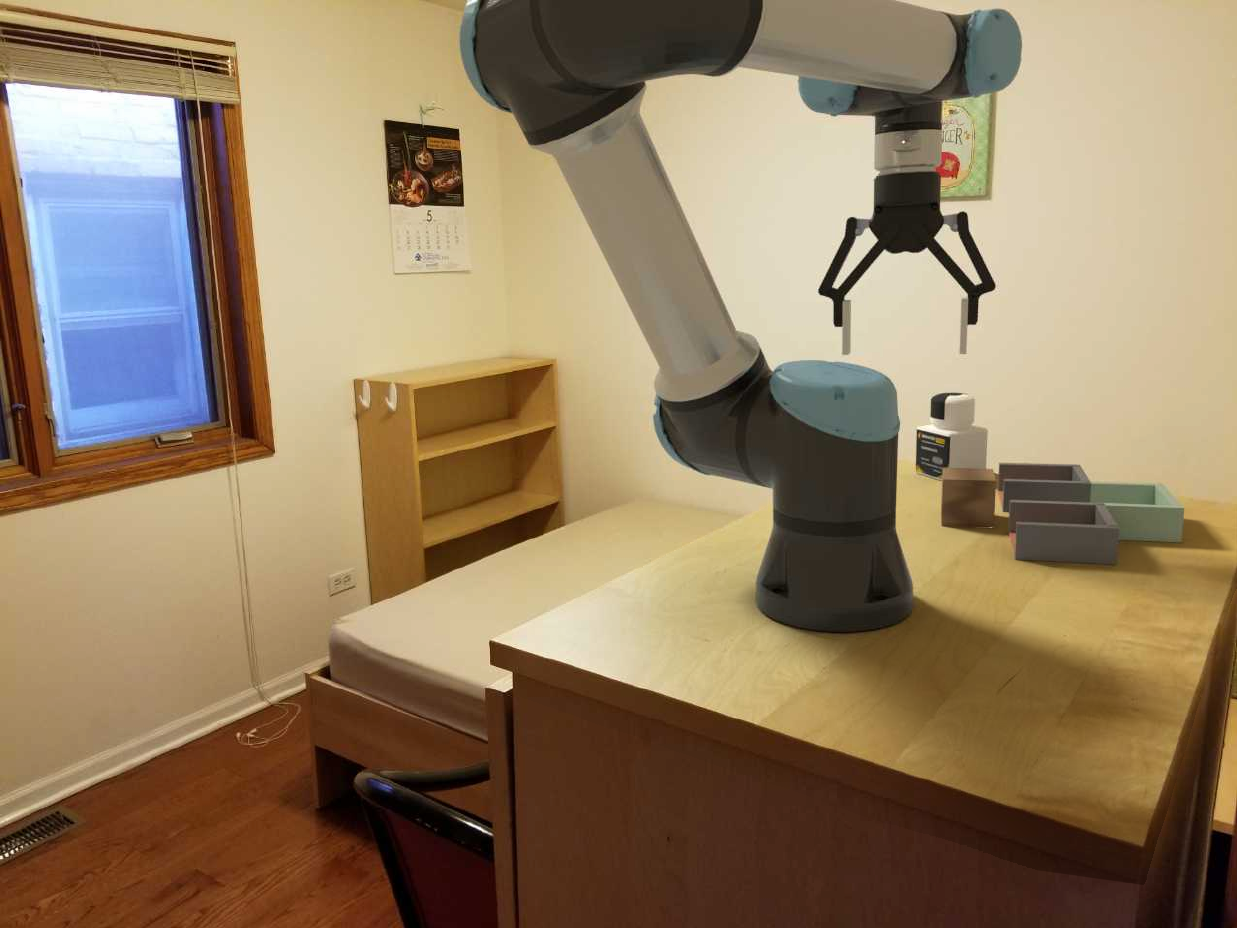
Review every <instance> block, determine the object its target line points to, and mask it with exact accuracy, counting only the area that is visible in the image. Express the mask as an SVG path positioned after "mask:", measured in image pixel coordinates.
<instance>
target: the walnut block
mask: <svg viewBox="0 0 1237 928" xmlns="http://www.w3.org/2000/svg"><path fill="white" fill-rule="evenodd" d="M996 487H997V479H996V475H995V472H994V469H993V468H986V469H975V468H942V481H941V499H940V500H941V504H940V505H941V507H940V517H941V518H940V522H941V524H940V525H941V527H951V528H952V527H953V528H973V527H987V528H986V529H989V528H988V527H994V528H995V514H996V513H995V512H996V494H997V493H996V489H997V488H996Z"/></svg>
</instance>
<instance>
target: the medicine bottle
mask: <svg viewBox="0 0 1237 928" xmlns="http://www.w3.org/2000/svg"><path fill="white" fill-rule="evenodd" d="M975 404H976V399H975V397H974V396H972V395H970V394H968V393H963V392H942V393H937V394H935V395H933V396H932V397H931V399H930V411H929V412H930V416H929V420H930V421H929V422H930V423H931V424H926V425H919V426H917V427H916V440H915V441H916V444H915V473H916V474H918V475H921V476H925V477H927V478H931V479H935V480H936V481H937V480H938V481H941V482H942V468H975V469H987V457H988V454H987V453H988V433H989V432H988V431H989V430H988V428H986V427H981V426H975V425H972V424H974V423H975V408H976V407H975V406H976V405H975Z"/></svg>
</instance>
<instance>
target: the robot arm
mask: <svg viewBox="0 0 1237 928" xmlns="http://www.w3.org/2000/svg"><path fill="white" fill-rule="evenodd" d="M458 36H459V37H458V38H459V51H460V58H461V62H462V65H463V68H464V71H465V73H466V76H467V79H468V80H469V82H470V84H471V85H472V87H473V89H474V90H475V91H476V93H477V94H478V95H479V96H480V97H481V98H482V99H483V100H484V101H485V102H486V103H487V104H489V105H490V106H492V107H494V108H495V107H496V109H498V110H500V111H502V112H505V113H508V114H512V115H513V117H514V118H515V120H516V122H517V124H518V127H519V128H520V130H521V132H522V135H523V136H524V138H525V140H526V141H527V142H526V143H527V144H528V145H529V147H530V148H531V149H532V150H533V149H534V150H536V151H539V152H542V153H545V154H548V155H551V156H552V157H553V158H554V159H555V162H556V164H557V166H558V168H559V170H560V172H561V174H562V175H563V178H564V180H565V182H566V183H567V185H568V188H569V189H570V192H571V194H572V196H573V197H574V200H575V201H576V203H577V205H578V208H579V209H580V211H581V213H582V215H583V217H584V219H585V222H586V223H587V225H588V228H589V229H590V232H591V233H592V235H593V238H594V239H595V241H596V244H597V245H598V247H599V249H600V251H601V253H602V256H603V257H604V259H605V260H606V263H607V264H608V265H607V266H608V267H609V269H610V271H611V273H612V275H613V277H614V279H615V281H616V283H617V285H618V287H619V290H620V291H621V293H622V295H623V298H624V299H625V301H626V303H627V305H628V307H629V309H630V311H631V313H632V315H633V317H634V319H635V322H636V323H637V325H638V327H639V329H640V331H641V333H642V335H643V337H644V339H645V341H646V343H647V345H648V347H649V349H650V351H651V353H652V355H653V357H654V358H655V361H656V363H657V365H658V367H659V369H658V370H657V373H656V375H655V378H654V381H653V388H654V391H655V395H654V396H655V397H654V402H653V406H655V407H656V409H655V410H656V411H655V413H653V415H652V420H653V427H654V431H655V433H656V436H657V439H658V441H659V443H660V445H661V446H662V448H663V449H664V451H665V452H666V453H667V455H669V456H670V458H671V459H672V460H674V461H675V462H677V463H678V464H680V465H681V466H684V467H686V468H689V469H691V470H692V471H695V472H698V473H700V474H703V475H705V476H713V477H714V476H715V477H719V478H723V479H729V480H732V481H736V482H741V483H746V484H750V485H755V486H760V487H764V488H768V489H772V528H771V532H770V536H769V539H768V542H767V546H766V548H765V551H764V554H763V557H762V561H761V563H760V565H759V568H758V572H757V575H756V578H755V579H756V581H755V603H756V604H755V605H756V606H757V608H758V609H759V610H760V612H762V613H763V614H764V615H766V616H768V617H769V618H770V619H772V620H775V621H777V622H780V623H783V624H786V625H789V626H793V627H796V628H802V629H806V630H812V631H824V632H837V633H838V632H840V633H841V632H843V633H845V632H863V631H871V630H876V629H880V628H881V629H882V628H885V627H888V626H892V625H894V624H897V623H899V622H901V621H903V620H904V619H906V618H907V617H908V616H910V614H911V613H912V611H913V609H914V608H913V607H914V584H913V581H912V577H911V574H910V571H909V568H908V564H907V560H906V559H905V555H904V551H903V549H902V546H901V542H900V539H899V537H898V533H897V526H896V524H897V523H896V521H897V519H896V518H897V491H898V490H897V488H898V487H897V486H898V478H897V477H898V460H899V459H898V457H899V454H898V452H899V451H898V449H899V433H900V431H901V430H900V429H901V420H900V416H899V408H898V390H897V389H896V386H895V384H894V383H893V381H892V380H891V379H890V378H889V377H888V375H885V374H884V373H882V372H881V371H878V370H876V369H874V368H871V367H867V366H863V365H859V364H855V363H850V362H844V361H827V360H821V359H809V360H808V359H807V360H806V359H803V360H800V359H799V360H793V361H786V362H783V363H781V364H779V365H778V366H776V367H775V368H774V369H773V371H772V369H771V368H770V366H769V364H768V361H767V359H766V357H765V354H764V353H763V351H762V349H761V346H760V343H759V341H758V340H757V338H756V337H755V336H754V335H752V334H750V333H748V332H744V331H739V330H737V329H736V327H735V324H734V322H733V320H732V317H731V316H730V312H729V311H728V309H727V305H726V304H725V302H724V299H723V297H722V295H721V293H720V291H719V289H718V286H717V284H716V281H715V280H714V276H713V274H712V273H711V270H710V269H709V265H708V264H707V262H706V260H705V257H704V255H703V253H702V251H701V248H700V246H699V244H698V241H697V239H696V237H695V234H694V232H693V229H692V227H691V225H690V223H689V221H688V218H687V217H686V214H685V212H684V210H683V207H682V205H681V203H680V201H679V198H678V196H677V195H676V192H675V190H674V187H673V186H672V185H673V184H672V182H671V181H670V179H669V176H668V174H667V172H666V170H665V167H664V165H663V163H662V161H661V158H660V156H659V154H658V152H657V149H656V146H655V145H654V143H653V140H652V138H651V136H650V133H649V131H648V129H647V127H646V125H645V122H644V120H643V117H642V116H641V114H640V112H641V105H642V103H643V100H644V97H645V95H646V91H647V88H648V87H647V84H646V82H647V81H653V80H658V79H663V78H664V79H665V78H669V77H674V76H685V75H699V76H700V75H701V76H708V77H718V78H719V77H723V76H725V75H728V74H731V73H732V72H733V71H736V70H737V69H738V68H745V69H750V70H757V71H763V72H769V73H770V72H771V73H774V74H775V73H777V74H781V75H782V74H783V75H789V76H796V77H797V82H798V83H797V84H798V87H797V88H798V93H799V96H800V98H801V100H802V102H803V104H805V106H806V107H807V108H808V109H809V110H811V111H813V112H815V113H818V114H824V115H829V116H830V117H837V116H856V117H857V116H858V117H859V116H862V117H863V116H864V117H868V116H869V117H874V155H873V156H874V162H873V164H874V165H873V168H874V169H875V171H877V172H879V173H878V175H876V176H875V178H874V179H873V211H872V212H873V213H872V216H871V218H857V217H855V216H850V217H848V218H847V219H846V223H845V229H844V231H845V232H844V237H843V239H842V241H841V242H840V245H839V246H838V249H837V251H836V253H835V255H834V257H833V259H832V261H831V264H830V266H829V267H828V270H827V272H826V273H825V275H824V277H823V279H822V281H821V283H820V286H819V288H818V289H817V293H818V295H819V296H821V297H826V298H828V299H831V301H832V303H833V305H832V306H833V307H832V309H833V312H832V313H833V317H832V319H833V323H832V324H833V325H834V327H835V328H842V329H841V330H842V333H841V335H842V336H841V337H842V341H841V342H842V344H841V346H842V350H841V355H842V356H849V355H850V354H851V347H852V346H851V337H852V335H851V334H852V333H851V332H852V329H851V328H852V326H851V325H852V323H851V322H852V321H851V320H852V299H845V298H846V296H847V295H848V294H849V292H850V291H851V289H852V288H854V286H855V285H856V284H857V283H858V281H860V279H861V278H862V277H863V276H864V274H865V273H866V272H867V271H868V269H870V267H871V266H872V265H873V264H874V263H875V261H876V260H877V259H878V257H880V255H882V253H883V252H884V251H885V252H887V253H890V254H892V255H893V254H895V255H896V254H898V255H899V254H902V253H905V252H906V253H912V254H917V253H921V252H924V251H925V250H926V249H928V251H929V252H930V253H931V254H932V255H933V256H934V257H935V258H936V260H937V261H938V262H939V263H940V265H941V266H942V267H943V268H944V269H945V270H946V271H947V272H948V274H949V275H950V276H951V277H952V278H953V279H954V280H955V282H957V284H958V285H959V286H960V287H961V289H963V290H964V292H965V293H966V294H967V296H961V297H960V316H959V317H960V319H959V322H960V323H959V348H958V349H959V350H958V351H959V352H958V353H959V355H967V345H968V341H967V340H968V326H976V325H977V323H978V321H979V300H980V297H981V296H982V295H985V294H988V293H990V292H993V291H995V290H996V287H997V285H996V282H995V280H994V278H993V277H992V274H991V273H990V270H989V268H988V267H987V264H986V262H985V260H984V258H983V256H982V253H981V252H980V250H979V248H978V246H977V244H976V242H975V239H974V238H973V236H972V234H971V231H970V225H969V215H968V213H967V212H966V211H960V212H958V213H952V214H951V213H950V214H946V215H943V214H942V211H941V188H942V187H941V185H942V174H940V172H939V171H936V168H939V167H940V166H941V165H942V157H943V156H942V155H943V154H942V153H943V151H942V149H943V121H942V119H943V102H945V101H951V100H959V99H965V98H972V97H973V98H975V99H976V98H980V97H981V96H983V95H988V94H992V93H998V92H1000V91H1003V90H1005V89H1006V88H1007V87H1009V86H1010V85H1011V84H1012V83H1013V81H1014V80H1015V78H1016V77H1017V76H1018V72H1019V70H1020V67H1021V62H1022V53H1023V51H1022V50H1023V39H1022V38H1023V37H1022V34H1021V30H1020V27H1019V25H1018V22H1017V20H1016V19H1015V18H1014V16H1013V15H1012V14H1011V12H1009V11H1007V10H1006V9H1004V8H992V9H991V8H990V9H984V10H981V9H976V10H974V11H972V12H971V13H967V14H954V13H950V12H946V11H941V10H936V9H931V8H927V7H924V6H923V7H922V6H919V5H916V4H911V3H907V2H905V1H899V0H467V1H466V4H465V5H464V9H463V13H462V17H461V23H460V25H459V35H458ZM944 225H948V227H949V229H950V230H951V231H952V232H954V233H958V237H959V239H960V241H961V243H962V245H963V247H964V249H965V251H966V253H967V256H968V257H969V260H970V262H971V263H972V265H973V267H974V269H975V271H976V273H977V275H978V276H977V277H978V278H979V280H980V281H981V282H980V283H978V284H975V283H974V282H973V281H972V280H971V279H970V277H969V276H968V275H967V274H966V273H965V272H964V271H963V269H962V268H961V267H960V266H959V264H957V263H956V261H955V260H954V259H953V258H952V257H951V256H950V255H949V253H948V252H947V251H946V250H945V249H944V248H943V247H942V245H940V243H939V242H938V241H937V240H936V238H935V237H936V236H937V235H938V233H939V232H940V231H941V229H942V228H943V227H944ZM866 229H869V230H870V231H871V233H872V235H873V236H874V237H875V238H876V239H877V240H876V242H875V244H874V245H872V247H871V248H870V249H869V251H868V252H867V253H866V254H865V255H864V257H863V258H862V259H861V260H860V261H859V263H858V264H857V265H856V266H855V267H854V269H852V271H851V272H850V274H848V276H847V277H846V279H844V281H843V282H842V283H841V284H840V285H839V287H838V288H836V287H834V284H835V282H836V281H837V278H838V276H839V274H840V271H841V270H842V268H843V266H844V264H845V262H846V260H847V258H848V256H849V254H850V252H851V250H852V248H853V246H854V244H855V241H856V238H857V237H861V236H862V235H863V234H864V231H865V230H866Z"/></svg>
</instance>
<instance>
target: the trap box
mask: <svg viewBox="0 0 1237 928" xmlns="http://www.w3.org/2000/svg"><path fill="white" fill-rule="evenodd" d="M1088 477H1089V476H1088V475H1087V474H1086V473H1085V471H1084V469H1083V468H1082V465H1081V464H1068V463H1030V462H1029V463H1028V462H1027V463H1025V462H998V479H997V493H998V496H999V501H1000V505H1001V509H1003V510H1002V512H1008V511H1009V512H1008V528H1007V529H1008V536H1009V540H1010V541H1009V542H1010V544H1011V548H1012V552H1013V556H1014V560H1021V561H1041V562H1055V563H1056V562H1058V563H1059V562H1060V563H1079V564H1094V565H1117V564H1118V553H1119V551H1118V550H1119V541H1140V542H1141V541H1142V542H1160V543H1182V541H1183V540H1182V538H1183V528H1184V527H1183V526H1184V516H1185V507H1184V506H1183V504H1182V503H1181V502H1180V501H1179V500H1178V499H1177V498H1176V497H1175V496H1174V495H1173V494H1172V492H1171V491H1170V490H1169V489H1168V488H1167V487H1166V485H1164V483H1163V482H1162V483H1159V482H1157V483H1156V482H1155V483H1154V482H1129V481H1127V482H1126V481H1125V482H1123V481H1120V482H1119V481H1118V482H1117V481H1090V479H1089V478H1088Z"/></svg>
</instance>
